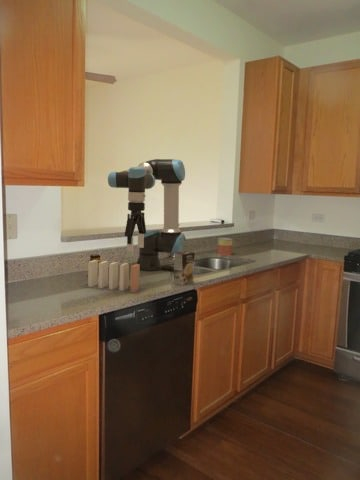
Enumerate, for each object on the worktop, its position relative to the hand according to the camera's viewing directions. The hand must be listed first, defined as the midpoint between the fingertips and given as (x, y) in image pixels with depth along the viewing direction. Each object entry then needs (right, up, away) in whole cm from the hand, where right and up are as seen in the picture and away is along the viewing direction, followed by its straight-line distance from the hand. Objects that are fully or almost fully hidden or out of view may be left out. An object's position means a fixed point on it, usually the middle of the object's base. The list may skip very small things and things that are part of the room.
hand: (135, 249), depth 183 cm
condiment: (-26, -16, +29) cm, 42 cm away
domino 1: (-22, -18, +9) cm, 29 cm away
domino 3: (-11, -19, +6) cm, 22 cm away
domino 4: (-6, -19, +4) cm, 20 cm away
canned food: (+54, -7, +117) cm, 129 cm away
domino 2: (-16, -18, +7) cm, 26 cm away
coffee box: (+22, -18, +23) cm, 37 cm away
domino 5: (-1, -19, +3) cm, 20 cm away
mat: (-11, -19, +6) cm, 23 cm away
